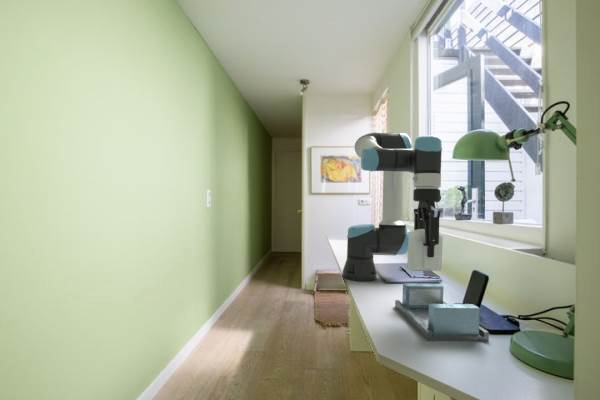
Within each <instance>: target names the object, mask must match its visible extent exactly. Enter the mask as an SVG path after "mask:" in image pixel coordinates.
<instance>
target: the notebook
mask: <svg viewBox="0 0 600 400" xmlns="http://www.w3.org/2000/svg"><path fill="white" fill-rule="evenodd" d="M423 273H424V274H423V275H424V276H429V277H438V278H440V279H441V276H440V275H438V274H437V273H435V272H434V271H423Z"/></svg>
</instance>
